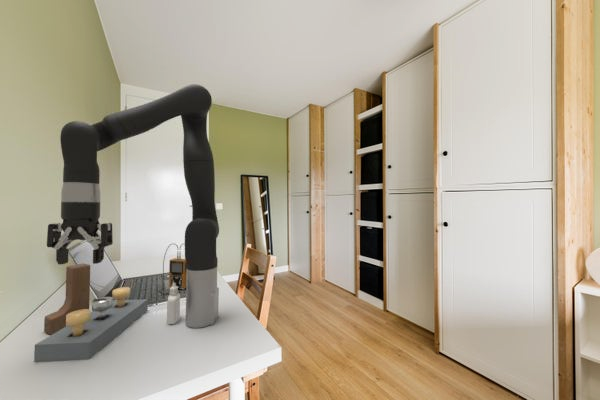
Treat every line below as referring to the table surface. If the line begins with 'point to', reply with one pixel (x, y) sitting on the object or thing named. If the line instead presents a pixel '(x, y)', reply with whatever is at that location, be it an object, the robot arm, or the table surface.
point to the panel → (90, 334)
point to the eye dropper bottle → (173, 305)
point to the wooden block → (71, 297)
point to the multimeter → (177, 271)
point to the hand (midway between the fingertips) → (80, 263)
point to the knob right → (121, 295)
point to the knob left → (78, 320)
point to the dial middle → (102, 306)
